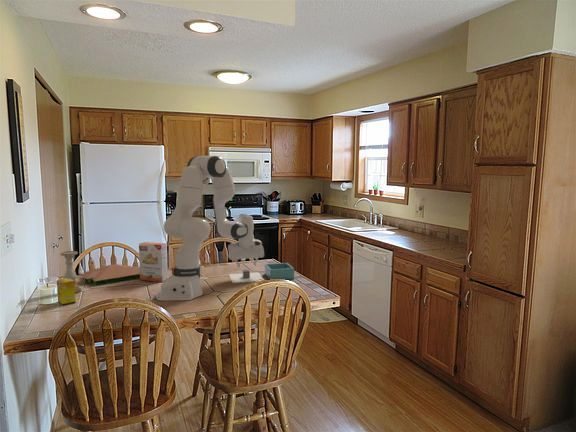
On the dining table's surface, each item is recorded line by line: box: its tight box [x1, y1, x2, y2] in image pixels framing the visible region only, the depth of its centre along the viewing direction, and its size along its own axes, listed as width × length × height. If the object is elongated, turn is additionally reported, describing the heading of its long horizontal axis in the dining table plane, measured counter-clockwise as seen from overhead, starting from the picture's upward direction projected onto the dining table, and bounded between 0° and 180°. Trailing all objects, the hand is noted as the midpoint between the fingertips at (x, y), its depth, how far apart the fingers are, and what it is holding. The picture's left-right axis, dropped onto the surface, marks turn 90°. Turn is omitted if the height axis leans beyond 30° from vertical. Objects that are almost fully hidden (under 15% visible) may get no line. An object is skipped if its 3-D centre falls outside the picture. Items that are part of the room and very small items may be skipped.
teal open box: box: [264, 262, 295, 280], centre depth 239 cm, size 14×14×6 cm
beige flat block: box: [81, 263, 140, 287], centre depth 234 cm, size 23×33×8 cm
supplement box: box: [56, 278, 76, 307], centre depth 190 cm, size 6×6×11 cm
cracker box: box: [138, 241, 168, 283], centre depth 229 cm, size 14×6×21 cm, turn 77°
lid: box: [228, 269, 265, 284], centre depth 236 cm, size 18×18×5 cm
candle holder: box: [60, 250, 82, 294], centre depth 206 cm, size 9×9×20 cm
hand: (246, 265), depth 236 cm, fingers open, 8 cm apart
